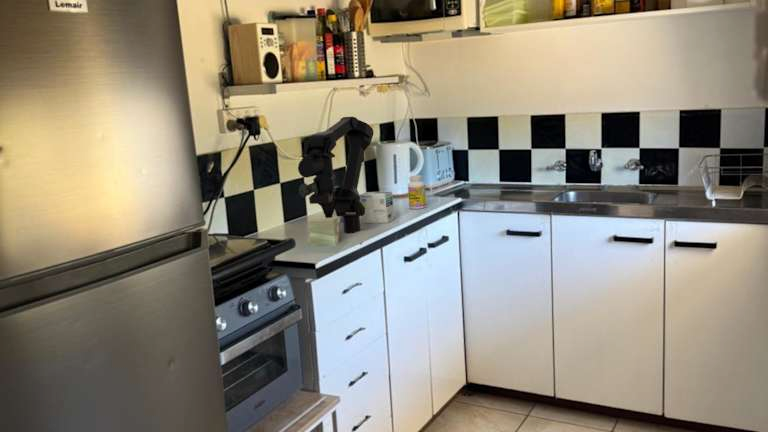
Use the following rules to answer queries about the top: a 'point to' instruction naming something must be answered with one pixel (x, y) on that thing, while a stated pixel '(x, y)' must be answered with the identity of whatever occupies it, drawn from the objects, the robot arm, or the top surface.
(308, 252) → the slate mat
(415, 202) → the supplement bottle
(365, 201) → the light bulb box
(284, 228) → the top surface
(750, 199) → the top surface
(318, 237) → the tile block
